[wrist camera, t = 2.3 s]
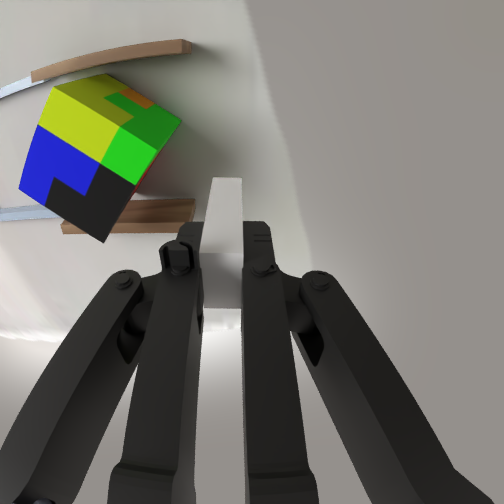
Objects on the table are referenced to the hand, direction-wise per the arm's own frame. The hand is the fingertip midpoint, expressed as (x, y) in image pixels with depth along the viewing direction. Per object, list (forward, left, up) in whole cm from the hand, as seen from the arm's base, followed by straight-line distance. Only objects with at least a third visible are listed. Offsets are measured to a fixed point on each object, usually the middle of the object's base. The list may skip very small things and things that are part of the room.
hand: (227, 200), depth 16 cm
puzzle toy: (0, -12, -16) cm, 20 cm away
